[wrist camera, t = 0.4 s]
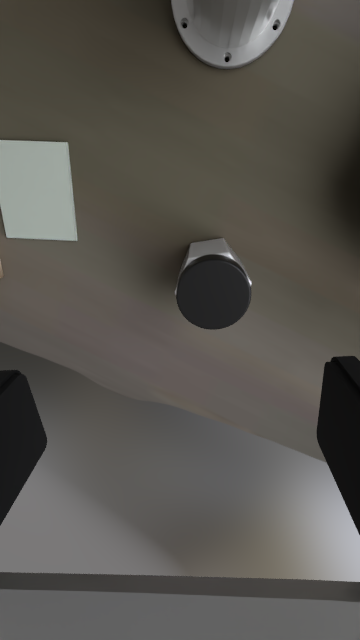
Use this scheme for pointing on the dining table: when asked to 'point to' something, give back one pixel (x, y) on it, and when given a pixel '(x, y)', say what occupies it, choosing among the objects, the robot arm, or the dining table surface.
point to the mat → (37, 190)
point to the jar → (212, 285)
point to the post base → (1, 271)
